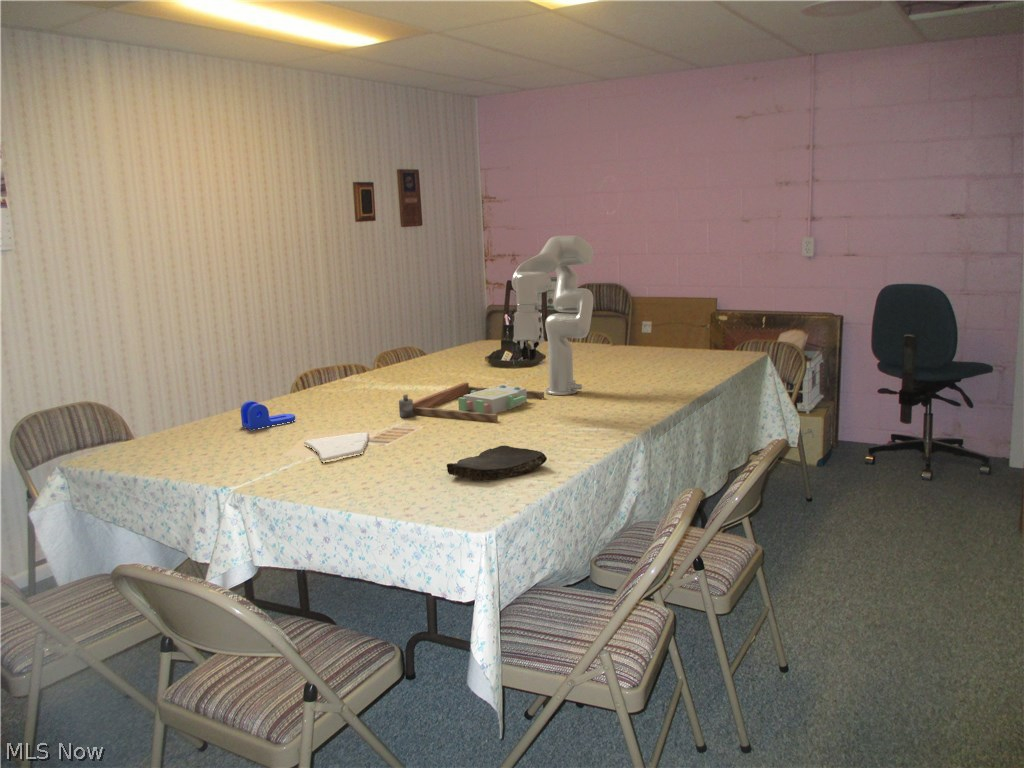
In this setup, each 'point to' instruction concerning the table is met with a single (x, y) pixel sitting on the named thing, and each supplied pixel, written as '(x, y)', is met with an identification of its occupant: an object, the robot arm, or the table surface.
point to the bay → (426, 404)
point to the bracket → (261, 416)
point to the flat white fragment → (339, 445)
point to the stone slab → (497, 463)
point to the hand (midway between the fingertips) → (529, 358)
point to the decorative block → (493, 399)
